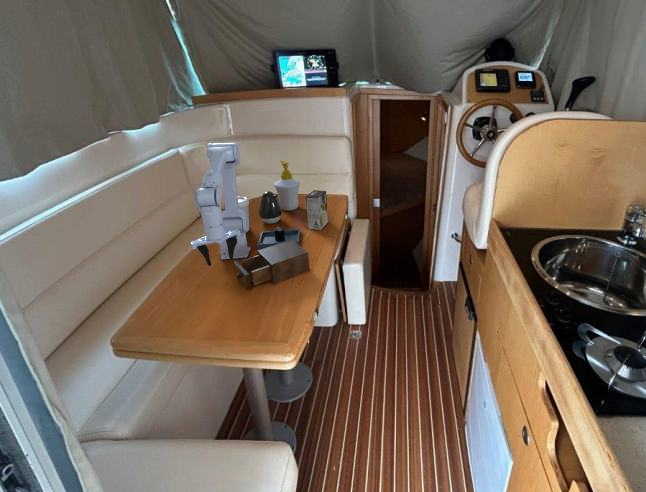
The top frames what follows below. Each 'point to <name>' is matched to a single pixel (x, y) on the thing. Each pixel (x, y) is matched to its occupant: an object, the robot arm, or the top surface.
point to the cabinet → (285, 260)
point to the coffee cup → (243, 205)
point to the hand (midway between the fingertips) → (220, 261)
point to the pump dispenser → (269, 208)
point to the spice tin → (279, 234)
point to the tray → (269, 240)
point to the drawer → (253, 271)
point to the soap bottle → (287, 189)
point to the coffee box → (317, 209)
